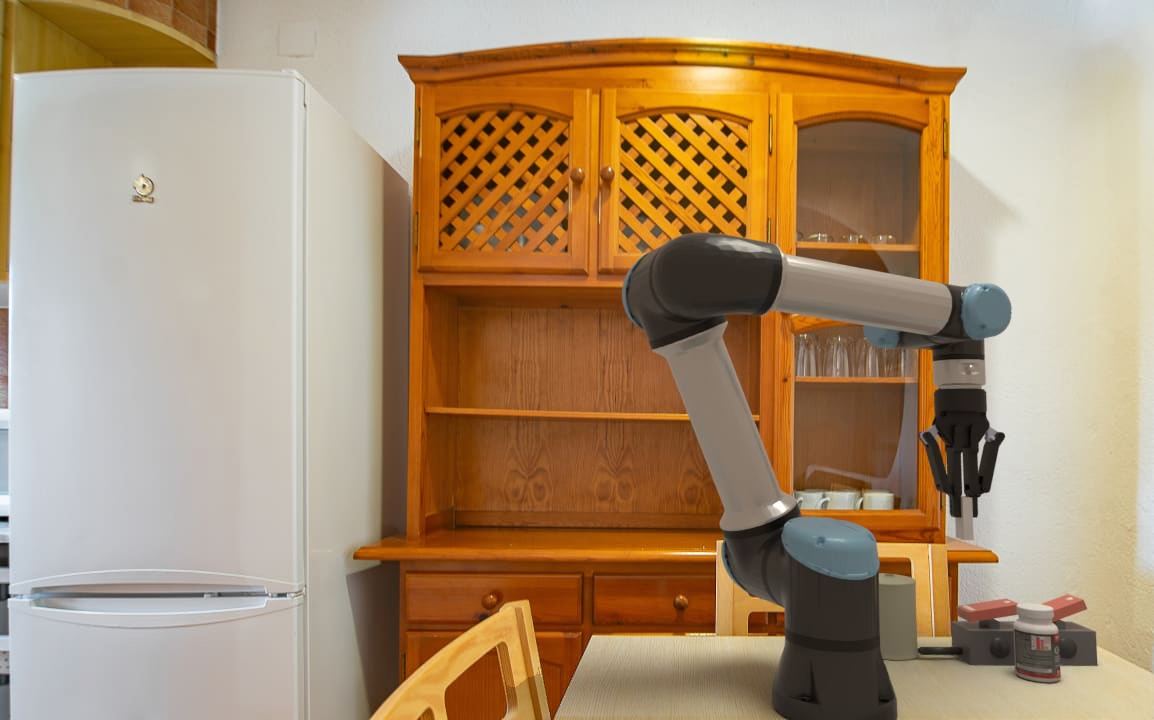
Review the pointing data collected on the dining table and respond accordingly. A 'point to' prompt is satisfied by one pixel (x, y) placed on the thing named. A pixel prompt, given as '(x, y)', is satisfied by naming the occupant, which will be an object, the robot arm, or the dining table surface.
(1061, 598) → the rocker
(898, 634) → the can
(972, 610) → the rocker
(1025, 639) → the pill bottle
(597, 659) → the dining table surface
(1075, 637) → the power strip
